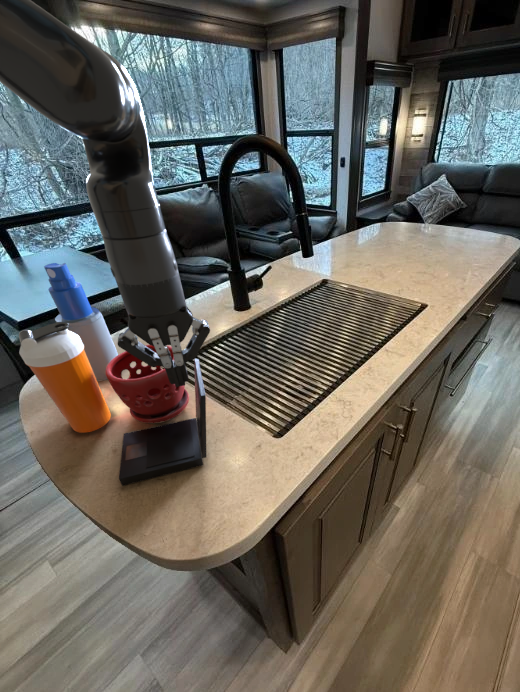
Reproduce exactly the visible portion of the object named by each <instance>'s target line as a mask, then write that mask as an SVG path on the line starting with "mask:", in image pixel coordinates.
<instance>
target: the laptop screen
mask: <svg viewBox="0 0 520 692" xmlns="http://www.w3.org/2000/svg"><path fill="white" fill-rule="evenodd" d="M193 361H194V365H193V367H194V368H193V369H194V371H193V372H194V373H193V374H194V399H195V402H194V403H195V418H196V420H197V426H198V433H199V440H200V447H201V453H202V458H203V459H206V458H207V397H206V391H205V386H204V380H203V376H202V374H203V373H202V369H201V365H200V364H201V363H200V359H199V358H194V359H193Z"/></svg>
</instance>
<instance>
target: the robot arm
mask: <svg viewBox="0 0 520 692" xmlns="http://www.w3.org/2000/svg"><path fill="white" fill-rule="evenodd" d="M0 84H1V85H3V86H5V87H6V88H7V89H8V90H10V91H11V92H12V93H13V94H15V96H17V97H19V99H20V100H22V101H24V102H25V103H26V104H28V105H29V106H30V107H32V108H33V109H34V110H35V111H37V112H38V113H39V114H41V115H42V116H44V117H45V118H46V119H48V120H50V121H51V122H52V123H54V124H55V125H57V126H59V127H60V128H62V129H63V130H65V131H67V132H69V133H71V134H73V135H75V136H77V137H79V138H81V141H82V143H83V147H84V151H85V155H86V159H87V162H88V167H89V173H88V176H87V178H86V182H85V188H86V194H87V197H88V200H89V203H90V207H91V209H92V211H93V214H94V217H95V220H96V223H97V226H98V228H99V229H98V230H99V232H100V234H101V237H102V240H103V245H104V248H105V249H104V250H105V253H106V257H107V260H108V264H109V265H110V273H111V274H112V276H113V278H114V280H115V283H116V285H117V288H118V291H119V294H120V296H121V299H122V301H123V304H124V307H125V310H126V313H127V315H128V320H127V328H126V329H125V330H124V331H123V332H120V333H119V335H118V337H117V346H118V347H119V348H120V349H122V350H123V351H124V352H125V351H127V352H128V353H130V354H132V355H133V356H135V357H136V358H138V359H140V360H141V361H143V362H142V363H145V364H146V365H149V366H151V368H156V366H161V368H162V367H163V369H164V368H165V370H166V373H167V376H168V379H169V382H170V383H171V384H175V386H176V387H179V386H180V385H181V386H184V385H185V386H186V383H187V382H189V372H188V370H187V365H186V363H187V362H188V361H194V359H196V357H197V355H198V354H199V352H200V350H201V348H202V347H203V345H204V343H205V341H206V339H207V338H208V336H209V334H210V333H211V328H210V325H209V322H208V320H206V319H201V320H200V319H198V318H196V317H194V315H193V312H192V311H191V309H189V307H188V306H187V302H186V298H185V294H184V289H183V285H182V282H181V281H182V280H181V277H180V273H179V268H178V262H177V260H176V255H175V253H174V252H175V251H174V248H173V246H172V243H171V241H170V238H169V235H168V232H167V228H166V224H165V221H164V216H163V212H162V208H161V204H160V200H159V196H158V194H157V191H156V186H155V183H154V177H153V170H152V158H151V152H150V145H149V137H148V131H147V125H146V121H145V115H144V110H143V107H142V103H141V99H140V96H139V93H138V90H137V88H136V84H135V83H134V81H133V79H132V78H131V76H130V74H129V73H128V70H127V69H126V68H125V67H124V65H122V63H120V61H118V59H116V58H115V57H114V56H113V55H111V54H110V53H108V52H107V51H105V50H104V49H102V48H101V47H100V46H98V45H96V44H94V43H92V42H91V41H89V40H88V39H87V38H86V37H84V36H82V35H81V34H80V33H78V32H76V31H75V30H74V29H73V28H71V27H70V26H68V25H66V24H65V23H64V22H62V21H61V20H59V19H58V18H57V17H55V16H54V15H52V13H50V12H48V11H46V10H45V9H44V8H43V7H41V6H40V5H38V4H36V3H35V2H34V1H32V0H0ZM190 328H191V330H192V336H191V337H190V339H189V341H188V343H187V345H186V347H185V348H184V349H182V344H181V343H182V342H183V341H184V340H185V338H186V337H187V334H188V333H189V330H190ZM139 338H140V339H141V340H142V341H144V342H145V343H147V345H151V346H154V347H155V349H156V352H157V353H156V352H154V351H153V350H151V349H150V348H148V347H147V346H145V345H146V344H144V343H142V342H141V341H140V340H139ZM167 346H170V347H172V352H173V356H174V360H172V357H171V355H170V352H169V350H168V347H167ZM174 361H175V362H174Z"/></svg>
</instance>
